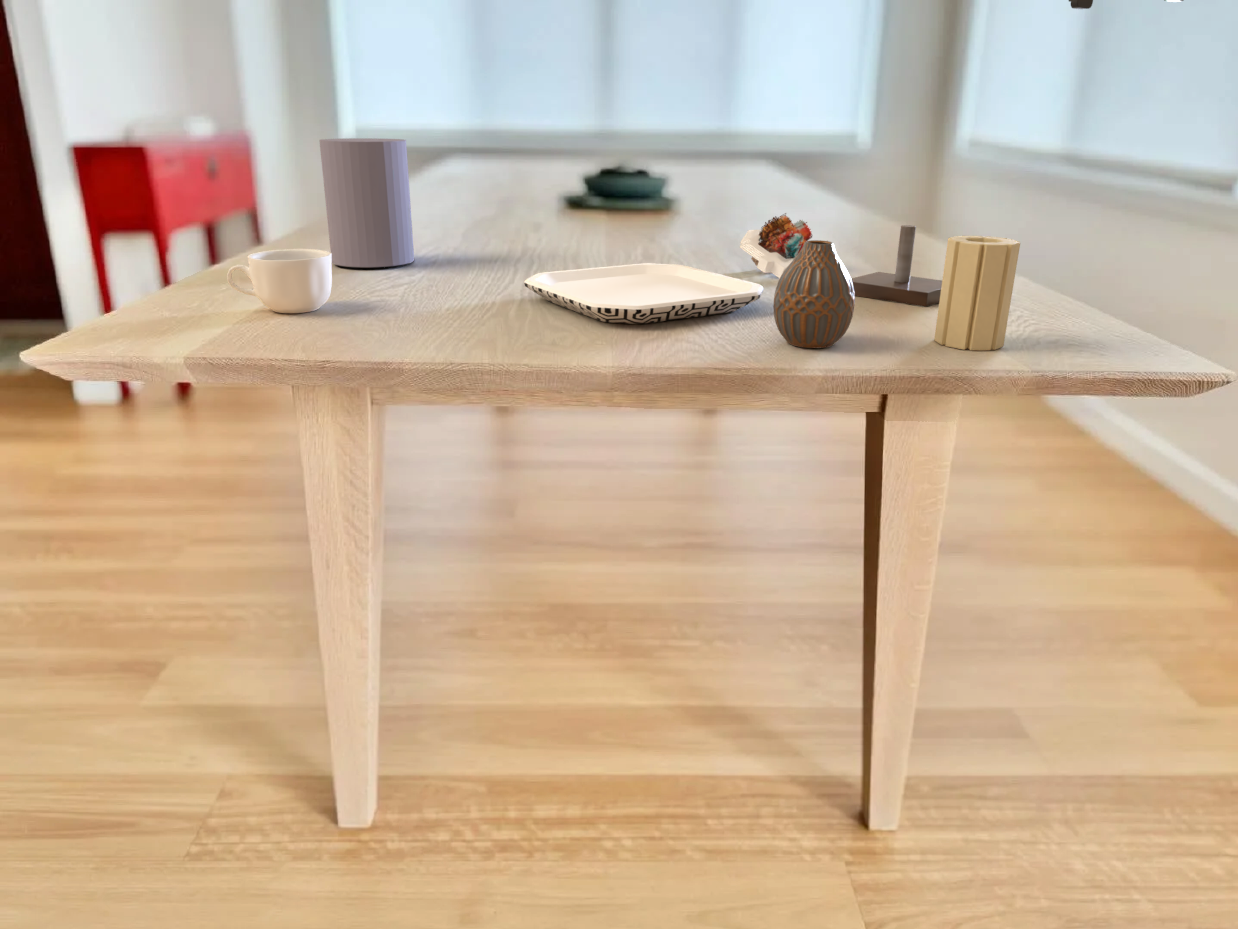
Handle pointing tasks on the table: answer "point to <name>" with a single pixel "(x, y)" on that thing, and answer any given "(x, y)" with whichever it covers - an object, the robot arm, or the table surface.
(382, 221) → the container
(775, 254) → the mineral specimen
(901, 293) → the peg stand
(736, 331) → the table surface
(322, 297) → the teacup
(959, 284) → the fluted hollow cylinder
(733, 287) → the plate
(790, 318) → the vase
